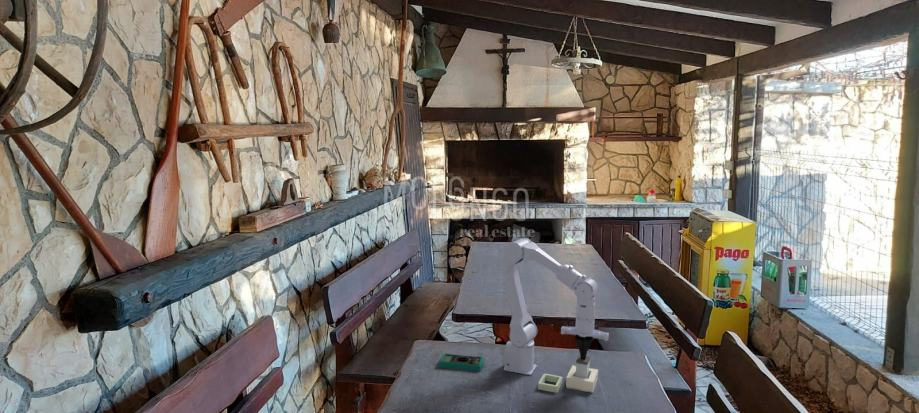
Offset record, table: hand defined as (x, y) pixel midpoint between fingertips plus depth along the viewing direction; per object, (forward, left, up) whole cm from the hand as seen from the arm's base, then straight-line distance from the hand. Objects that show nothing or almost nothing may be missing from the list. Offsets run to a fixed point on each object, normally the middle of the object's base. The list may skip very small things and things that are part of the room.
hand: (583, 358), depth 179 cm
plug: (0, 0, -8) cm, 8 cm away
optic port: (0, 0, -9) cm, 9 cm away
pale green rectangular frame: (-9, -5, -9) cm, 14 cm away
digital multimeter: (-41, -3, -9) cm, 42 cm away
